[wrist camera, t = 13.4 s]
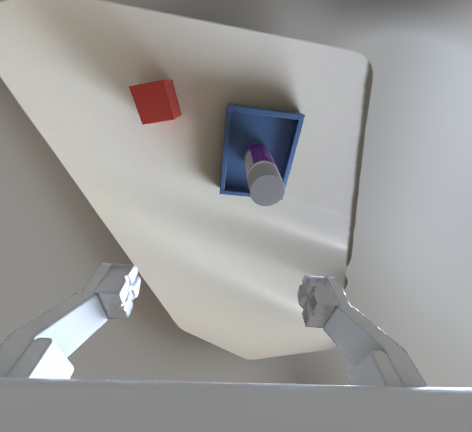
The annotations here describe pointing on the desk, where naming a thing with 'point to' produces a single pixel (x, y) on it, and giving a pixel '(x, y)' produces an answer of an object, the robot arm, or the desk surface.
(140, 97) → the red block
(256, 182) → the container
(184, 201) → the desk surface
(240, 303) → the desk surface
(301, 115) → the tray
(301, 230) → the desk surface
